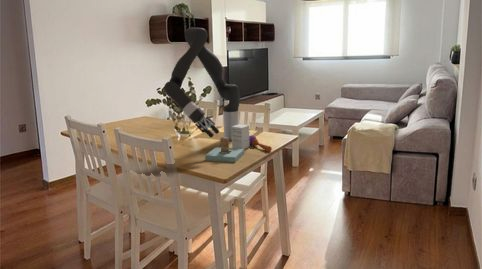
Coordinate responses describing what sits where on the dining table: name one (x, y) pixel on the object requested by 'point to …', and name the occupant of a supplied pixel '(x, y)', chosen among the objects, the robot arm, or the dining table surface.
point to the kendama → (255, 142)
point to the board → (224, 155)
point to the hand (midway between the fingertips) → (215, 134)
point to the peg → (224, 145)
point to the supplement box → (240, 136)
